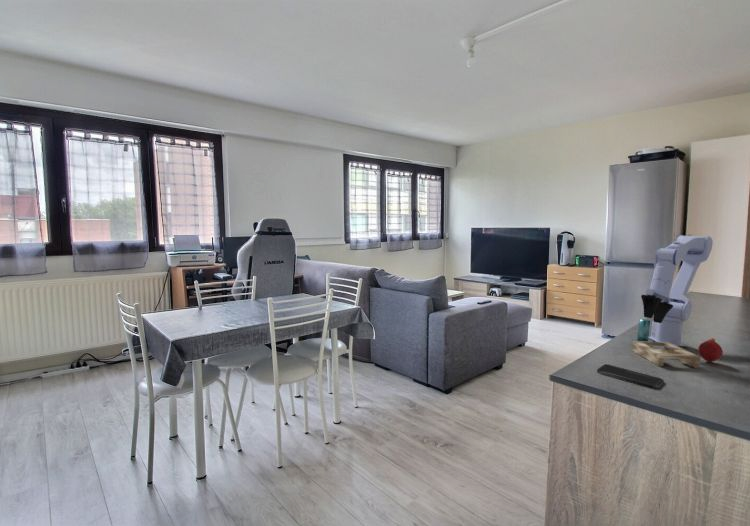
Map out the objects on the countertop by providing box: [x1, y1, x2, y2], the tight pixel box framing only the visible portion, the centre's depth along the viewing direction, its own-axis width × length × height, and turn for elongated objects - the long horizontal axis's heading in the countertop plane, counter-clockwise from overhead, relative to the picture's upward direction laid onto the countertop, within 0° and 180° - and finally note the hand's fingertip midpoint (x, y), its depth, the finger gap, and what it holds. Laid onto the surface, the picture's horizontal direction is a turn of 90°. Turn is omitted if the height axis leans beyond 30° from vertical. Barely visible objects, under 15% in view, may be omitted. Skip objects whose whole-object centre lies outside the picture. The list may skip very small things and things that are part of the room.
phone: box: [596, 363, 665, 390], centre depth 111 cm, size 8×1×15 cm
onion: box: [697, 337, 724, 363], centre depth 124 cm, size 6×6×8 cm
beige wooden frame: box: [631, 340, 701, 369], centre depth 126 cm, size 14×12×4 cm
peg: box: [631, 318, 654, 348], centre depth 137 cm, size 6×6×10 cm
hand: (652, 320), depth 132 cm, fingers open, 7 cm apart
